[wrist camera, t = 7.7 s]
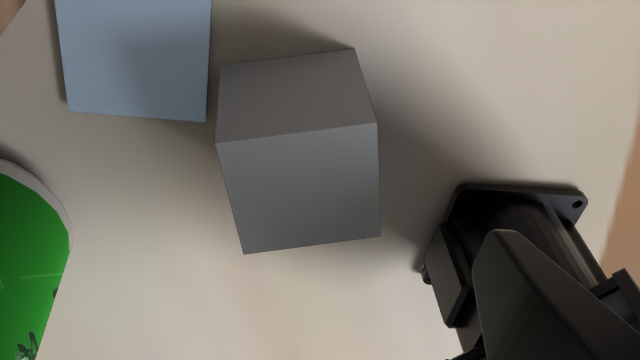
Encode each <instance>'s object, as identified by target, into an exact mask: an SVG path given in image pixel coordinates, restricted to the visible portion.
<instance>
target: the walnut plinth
mask: <svg viewBox="0 0 640 360" xmlns="http://www.w3.org/2000/svg"><path fill="white" fill-rule="evenodd" d="M25 1H26V0H0V35H1V34H2V32H3V31H4V30H5V28H6V27H7V26H8V24H9V23H10V22H11V20H12V19H13V18H14V16H15V15H16V13H17V12H18V11H19V9H20V8H21V7H22V5H23V4H24V3H25Z"/></svg>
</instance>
